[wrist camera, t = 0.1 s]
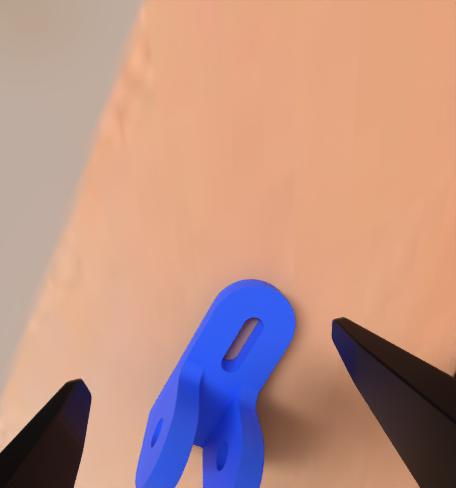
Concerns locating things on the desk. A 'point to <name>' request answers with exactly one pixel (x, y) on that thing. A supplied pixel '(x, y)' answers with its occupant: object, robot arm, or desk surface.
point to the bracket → (218, 393)
